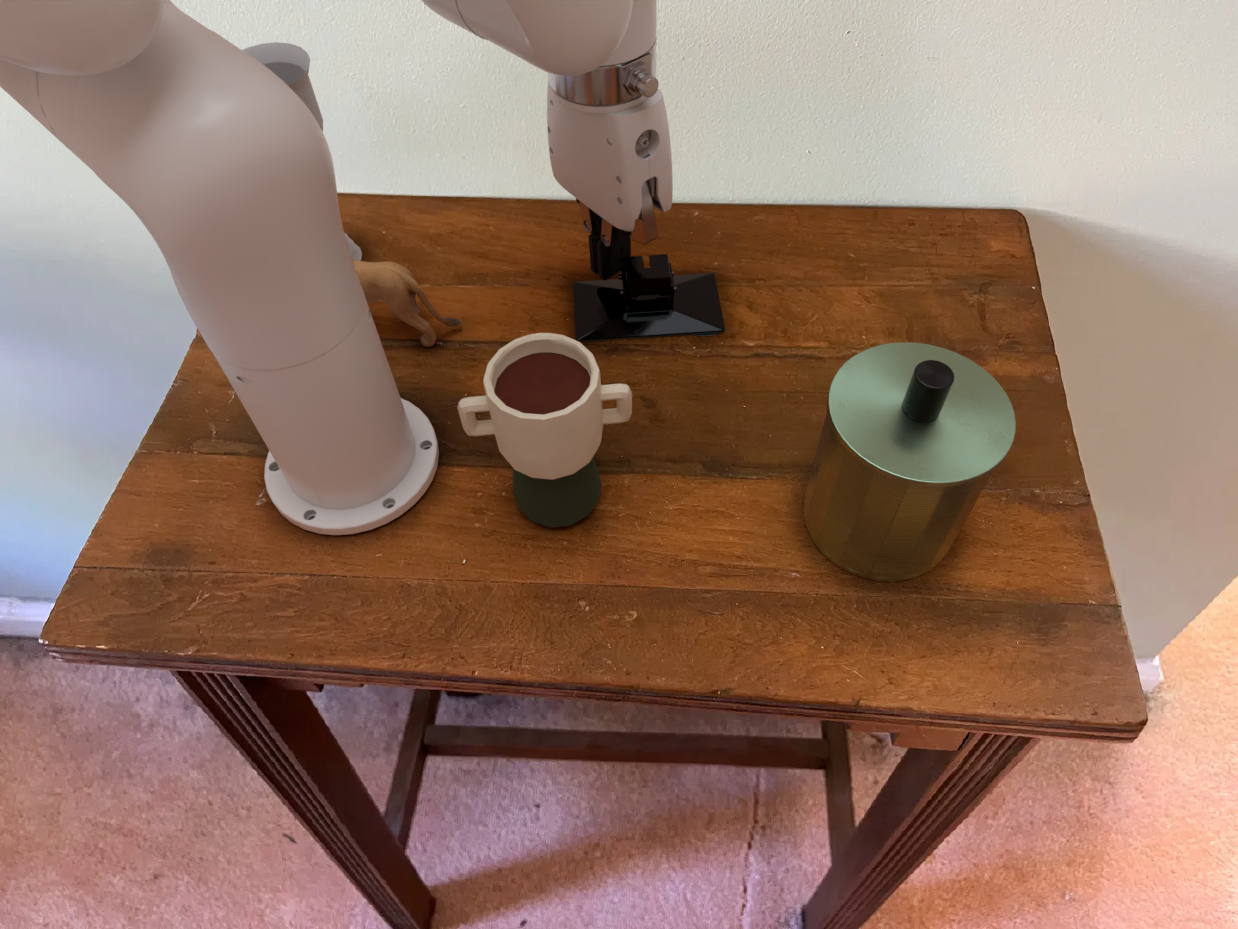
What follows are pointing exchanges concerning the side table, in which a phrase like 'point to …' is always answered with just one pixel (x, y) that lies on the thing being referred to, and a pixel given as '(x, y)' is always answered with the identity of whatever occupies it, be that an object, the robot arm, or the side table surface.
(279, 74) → the chalice
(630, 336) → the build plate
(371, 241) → the side table surface
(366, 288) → the lion figurine
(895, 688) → the side table surface
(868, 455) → the pot lid
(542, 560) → the side table surface
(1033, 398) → the side table surface
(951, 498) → the pot
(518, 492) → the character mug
